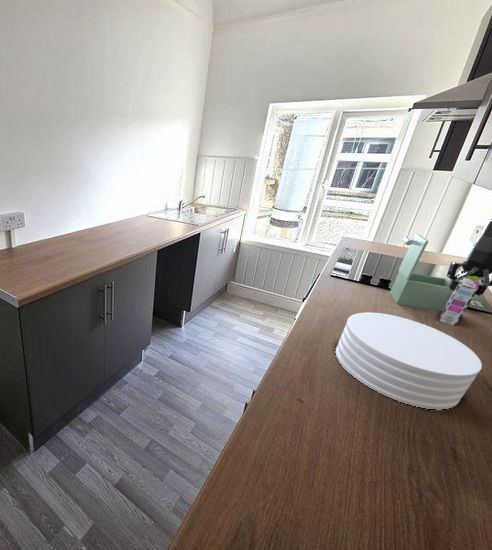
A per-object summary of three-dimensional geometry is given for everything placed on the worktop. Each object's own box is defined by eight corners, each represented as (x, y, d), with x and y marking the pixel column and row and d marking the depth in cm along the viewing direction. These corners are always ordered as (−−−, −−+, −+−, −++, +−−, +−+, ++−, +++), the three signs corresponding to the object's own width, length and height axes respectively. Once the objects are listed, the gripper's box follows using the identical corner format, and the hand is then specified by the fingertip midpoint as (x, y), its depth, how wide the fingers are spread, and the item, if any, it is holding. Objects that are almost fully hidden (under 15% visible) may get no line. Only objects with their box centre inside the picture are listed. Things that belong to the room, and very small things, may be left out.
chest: (434, 301, 128) (446, 278, 123) (445, 313, 118) (458, 289, 114) (389, 292, 134) (399, 270, 130) (396, 303, 125) (407, 280, 120)
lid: (418, 233, 123) (402, 231, 125) (428, 241, 113) (411, 238, 115) (400, 270, 130) (386, 267, 132) (409, 279, 120) (393, 276, 122)
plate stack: (321, 365, 88) (333, 333, 83) (350, 331, 105) (362, 303, 100) (452, 430, 69) (478, 394, 64) (463, 376, 85) (484, 344, 81)
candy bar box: (455, 329, 108) (478, 289, 101) (436, 323, 111) (457, 284, 105) (458, 319, 115) (480, 281, 108) (440, 313, 118) (461, 276, 111)
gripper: (465, 248, 101) (442, 291, 108) (526, 256, 95) (497, 301, 102) (455, 242, 107) (434, 283, 114) (512, 249, 101) (486, 292, 108)
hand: (464, 292), depth 108 cm, fingers closed on candy bar box, 6 cm apart
